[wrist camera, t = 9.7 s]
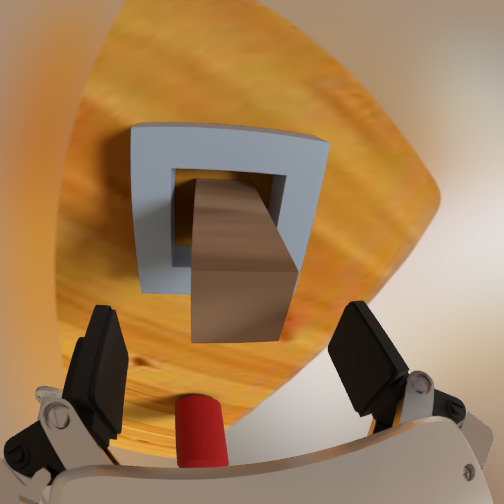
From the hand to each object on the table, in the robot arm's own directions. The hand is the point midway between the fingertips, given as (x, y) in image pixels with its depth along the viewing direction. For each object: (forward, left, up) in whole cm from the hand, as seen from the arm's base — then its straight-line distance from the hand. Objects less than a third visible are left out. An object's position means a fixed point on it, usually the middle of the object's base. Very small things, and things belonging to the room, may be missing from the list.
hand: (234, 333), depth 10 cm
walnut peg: (0, 0, -12) cm, 12 cm away
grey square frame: (0, 0, -12) cm, 12 cm away
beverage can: (-30, +2, -12) cm, 32 cm away
